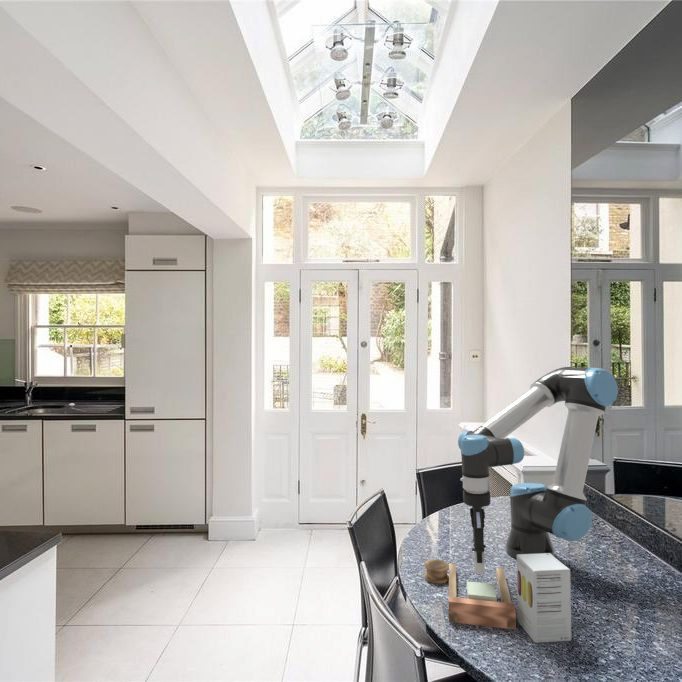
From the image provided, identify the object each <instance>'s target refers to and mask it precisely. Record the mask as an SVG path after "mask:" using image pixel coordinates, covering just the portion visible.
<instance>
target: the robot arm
mask: <svg viewBox="0 0 682 682" xmlns="http://www.w3.org/2000/svg"><path fill="white" fill-rule="evenodd" d="M618 394H619V387H618V382H617V380H616V379H615V377H614V375H613V374H612V373H611V372H610V371H609V370H607V369H605V368H600V367H593V366H589V367H579V366H578V367H577V366H564V367H563V366H562V367H560V368H556V369H553V370H551V371H550V372H547V373H546V374H545V375H543V376H541V377H540V378H537V379H536V380H535V381H534V382H533V383H532V384H530V385H529V389H528V390H527V391H526V392H524V393H523V394H522V395H520V396H519V397H518V398H516V399H515V400H514V401H512V402H511V403H509V404H508V405H507V406H506V407H504V408H503V409H502V410H500V411H499V412H497V413H496V414H495V415H493V416H491V418H490V419H488V420H487V421H486V422H484V423H483V424H481V425H480V426H479V427H478V428H476V429H474V430H464V431H463V432H461V434H460V435H459V437H458V440H457V445H458V447H459V448H458V449H460V455H461V473H462V477H461V478H460V479H459V480H460V481H461V482H462V489H463V490H462V498H463V500H462V501H463V503H464V504H465V506H468V507H470V508H469V514H470V519H471V520H470V523H471V527H472V534H473V535H472V536H473V547H471V551H472V552H473V563H474V573H475V574H480V575H481V574H486V571H485V570H486V568H485V549H486V544H485V543H484V542H485V540H484V539H485V538H484V536H485V535H484V528H485V519H486V513H485V509H484V508H485V507H488V506H490V504H491V492H490V489H491V480H490V478H491V477H490V468H495V467H503V466H512V465H515V464H519V463H521V462H522V461H523V459H524V457H525V448H524V445H523V443H522V442H521V441H520V440H519V439H518V438H515V437H512V438H511V437H508V436H509V435H511V434H513V432H514V431H516V430H517V429H519V428H520V427H522V426H523V425H524V424H525V423H527V422H528V421H529V420H531V419H532V418H533V417H534V416H536V415H537V414H538V413H539V412H540V411H542V410H544V409H545V408H550V407H552V406H554V405H555V404H557V403H559V402H560V403H561V402H564V405H565V407H566V408H567V415H566V420H565V425H564V430H563V434H562V435H563V436H562V438H561V443H560V444H561V445H560V449H559V453H558V457H557V463H556V468H555V472H554V477H553V481H552V483H551V484H550V485H548V486H547V485H546V484H544V483H538V482H537V483H536V482H522V483H515V484H514V485H512V486H511V487H510V495H509V501H510V504H509V505H510V531H509V533H508V537H507V540H506V542H505V551H506V553H507V554H508V555H509V556H510V557H512V558H514V559H516V560H517V555H518V554H540V553H551V554H552V555H553V556H554V557H555V548H554V546H553V545H554V544H553V543H552V539H551V536H550V534H551V535H553V536H555V537H557V539H562V540H565V541H568V542H577V541H580V540H581V539H582V538H584V537H586V535H588V533H589V531H590V529H591V527H592V524H593V515H592V512H591V510H590V508H589V507H588V506H587V500H588V499H587V497H586V495H585V494H584V488H585V484H586V478H587V477H586V476H587V472H588V469H589V463H590V458H591V454H592V448H593V443H594V439H595V434H596V429H597V425H598V419H599V418H600V417H601V416H602V415H605V412H606V408H607V407H609V406H612V405H613V404H614V403H615V402H616V400H617V398H618Z"/></svg>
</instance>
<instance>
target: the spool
mask: <svg viewBox="0 0 682 682" xmlns="http://www.w3.org/2000/svg"><path fill="white" fill-rule="evenodd" d="M423 565H424V569H426V572H425V573H424V580H426V581H427V582H429V583H432V584H435V585H436V584H438V585H439V584H440V585H441V584H446V583H447V582H448V583H449V574H448V571H449V563H447V561H445V560H441V559H434V558H433V559H428V560H426V561H424V564H423Z"/></svg>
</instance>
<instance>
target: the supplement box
mask: <svg viewBox="0 0 682 682" xmlns="http://www.w3.org/2000/svg"><path fill="white" fill-rule="evenodd" d="M571 585H572V584H571V569H570V568H569V567H567V566H566V565H565V564H563V562H561V560H559V559H557V558H556V557H555V555H554V556H553V555H552V554H551V553H540V554H518V555H517V559H516V595H517V596H516V599H517V601H516V602H517V603H516V605H517V609H516V610H517V612H516V614H517V615H516V618H517V619H516V621H517V622H518V623H519V624H520V626H521V627H522V628H523V630H524V631H525V632H526V633H527V634H528V637H530V639H531V640H532V641H533V643H535V644H536V643H539V644H540V643H555V642H568V641H569V642H571V641H572V604H571V602H572V601H571V595H572V594H571V593H572V592H571V590H572V589H571V588H572V587H571Z"/></svg>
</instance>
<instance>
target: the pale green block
mask: <svg viewBox="0 0 682 682" xmlns="http://www.w3.org/2000/svg"><path fill="white" fill-rule="evenodd" d="M495 589H496V588H495V584H494V583H487V582H486V583H485V582H477V581H467V580H466V599H476V600H485V601H495V602H497V593H496V590H495Z"/></svg>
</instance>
